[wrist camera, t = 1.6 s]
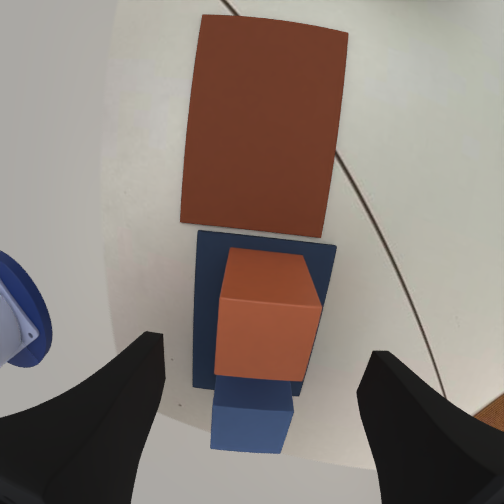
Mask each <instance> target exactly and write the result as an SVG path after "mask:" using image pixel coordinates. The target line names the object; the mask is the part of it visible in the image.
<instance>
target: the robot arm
mask: <svg viewBox="0 0 504 504" xmlns="http://www.w3.org/2000/svg"><path fill="white" fill-rule="evenodd" d="M38 336H39V330H38V329H37V328H36V327H35V325H34V324H33V323H32V321H31V320H30V319H29V318H28V316H27V315H26V314H25V312H24V311H23V310H22V309H21V307H20V306H19V304H18V303H17V302H16V300H15V299H14V298H13V296H12V295H11V293H10V292H9V291H8V289H7V288H6V286H5V285H4V283H3V282H2V280H1V279H0V367H1V366H2V365H4V364H5V363H6V362H7V361H9V360H10V359H11V358H12V357H14V356H15V355H16V354H17V353H18V352H20V351H21V350H22V349H23V348H25V347H26V346H27V345H28V344H30V343H31V342H32V341H33V340H35V339H36V338H37V337H38ZM165 379H166V377H165V362H164V343H163V334H161V333H154V332H148V331H145V332H144V333H143V334H142V335H140V336H139V337H138V338H137V339H136V340H135V341H134V342H132V343H131V344H130V345H129V346H128V347H127V348H126V349H124V350H123V351H122V352H121V353H120V354H118V355H117V356H116V357H115V358H114V359H112V360H111V361H110V362H109V363H107V364H106V365H105V366H104V367H102V368H101V369H100V370H98V371H97V372H96V373H95V374H93V375H92V376H90V377H89V378H87V379H86V380H84V381H83V382H81V383H80V384H78V385H77V386H75V387H73V388H71V389H70V390H68V391H66V392H65V393H63V394H61V395H59V396H57V397H55V398H53V399H51V400H48V401H46V402H44V403H42V404H40V405H38V406H35V407H32V408H30V409H27V410H24V411H21V412H18V413H15V414H12V415H9V416H5V417H2V418H0V504H131V498H132V492H133V488H134V482H135V478H136V473H137V469H138V464H139V460H140V457H141V453H142V451H143V448H144V445H145V442H146V440H147V437H148V434H149V431H150V429H151V426H152V423H153V421H154V418H155V415H156V412H157V410H158V407H159V404H160V401H161V396H162V392H163V388H164V383H165ZM356 393H357V399H358V406H359V411H360V416H361V420H362V423H363V426H364V429H365V432H366V436H367V439H368V442H369V445H370V448H371V451H372V455H373V458H374V461H375V465H376V469H377V473H378V479H379V485H380V492H381V500H382V504H504V432H503V431H500V430H498V429H496V428H494V427H491V426H489V425H487V424H485V423H483V422H481V421H480V420H478V419H476V418H474V417H472V416H471V415H469V414H467V413H466V412H464V411H463V410H461V409H460V408H458V407H456V406H455V405H454V404H452V403H451V402H449V401H448V400H447V399H445V398H444V397H443V396H441V395H440V394H439V393H438V392H436V391H435V390H434V389H433V388H431V387H430V386H429V385H428V384H427V383H425V382H424V381H423V380H422V379H421V378H420V377H418V376H417V375H416V374H415V373H414V372H413V371H412V370H410V369H409V368H408V367H407V366H406V365H405V364H404V363H402V362H401V361H400V360H399V359H398V358H397V357H395V356H394V355H393V354H392V353H390V352H389V351H373V352H372V354H371V357H370V360H369V362H368V365H367V367H366V370H365V372H364V375H363V377H362V380H361V382H360V385H359V387H358V389H357V392H356Z"/></svg>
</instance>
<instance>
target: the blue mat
mask: <svg viewBox="0 0 504 504" xmlns="http://www.w3.org/2000/svg"><path fill="white" fill-rule="evenodd" d="M231 247H233V248H242V249H251V250H260V251H269V252H279V253H288V254H297V255H303V257H304V260H305V262H306V265H307V268H308V270H309V273H310V276H311V278H312V281H313V284H314V286H315V289H316V292H317V295H318V297H319V300H320V303H321V306H322V311H323V306H324V302H325V298H326V294H327V290H328V285H329V281H330V276H331V272H332V267H333V263H334V258H335V253H336V249H337V247H336V245H328V244H320V243H312V242H303V241H294V240H286V239H277V238H268V237H259V236H250V235H241V234H232V233H222V232H213V231H204V230H198V234H197V251H196V270H195V293H194V322H193V387H195V388H203V389H211V390H215V384H216V377H217V375H216V374H215V373H214V368H215V353H216V338H217V324H218V311H219V298H220V293H221V288H222V283H223V279H224V274H225V269H226V264H227V259H228V254H229V250H230V248H231ZM322 311H321V315H322ZM321 315H320V319H321ZM320 319H319V323H320ZM319 323H318V327H319ZM318 327H317V330H318ZM316 334H317V331H316ZM315 338H316V335H315ZM314 342H315V339H314ZM313 346H314V343H313ZM313 346H312V349H313ZM311 353H312V350H311ZM310 357H311V354H310ZM310 357H309V360H310ZM308 364H309V361H308ZM307 368H308V365H307ZM307 368H306V371H307ZM305 375H306V372H305ZM305 375H304V378H305ZM303 381H304V379H303ZM303 381H290V384H291V391H292V396H299V395H300V392H301V388H302V385H303Z"/></svg>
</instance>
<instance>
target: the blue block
mask: <svg viewBox="0 0 504 504" xmlns="http://www.w3.org/2000/svg"><path fill="white" fill-rule="evenodd" d="M293 413H294V407H293V399H292V391H291V384H290V381H283V380H268V379H255V378H243V377H233V376H223V375H217V377H216V384H215V391H214V398H213V405H212V423H211V445H210V448H211V449H217V450H227V451H238V452H252V453H273V454H280V453H281V450H282V447H283V444H284V441H285V438H286V435H287V432H288V429H289V426H290V423H291V420H292V416H293Z"/></svg>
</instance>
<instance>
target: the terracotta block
mask: <svg viewBox="0 0 504 504" xmlns="http://www.w3.org/2000/svg"><path fill="white" fill-rule="evenodd" d="M321 311H322V306H321V303H320V300H319V297H318V295H317V292H316V289H315V286H314V284H313V281H312V278H311V276H310V273H309V270H308V268H307V265H306V262H305V260H304V257H303V255H297V254H288V253H279V252H269V251H260V250H251V249H242V248H233V247H231V248H230V250H229V254H228V259H227V264H226V269H225V274H224V279H223V283H222V288H221V293H220V298H219V311H218V324H217V338H216V353H215V368H214V373H215V374H216V375H223V376H233V377H243V378H255V379H268V380H283V381H303V379H304V375H305V372H306V368H307V365H308V361H309V357H310V354H311V350H312V346H313V343H314V339H315V335H316V331H317V327H318V323H319V319H320V315H321Z"/></svg>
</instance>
